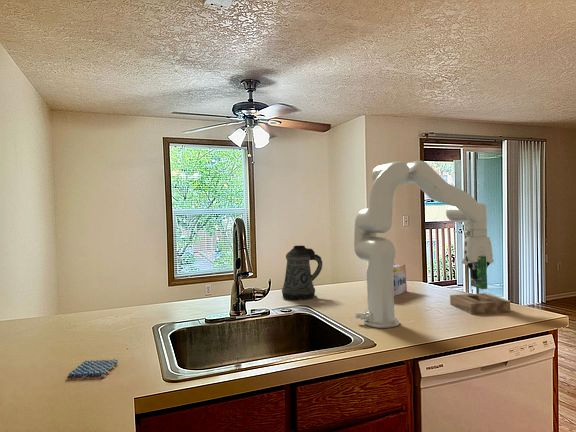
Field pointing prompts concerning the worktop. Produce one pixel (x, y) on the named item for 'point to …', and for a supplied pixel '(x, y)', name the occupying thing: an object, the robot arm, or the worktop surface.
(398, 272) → the gum box
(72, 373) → the woven mat
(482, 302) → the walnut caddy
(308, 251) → the beer stein
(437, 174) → the robot arm
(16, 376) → the worktop surface
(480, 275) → the coffee box
